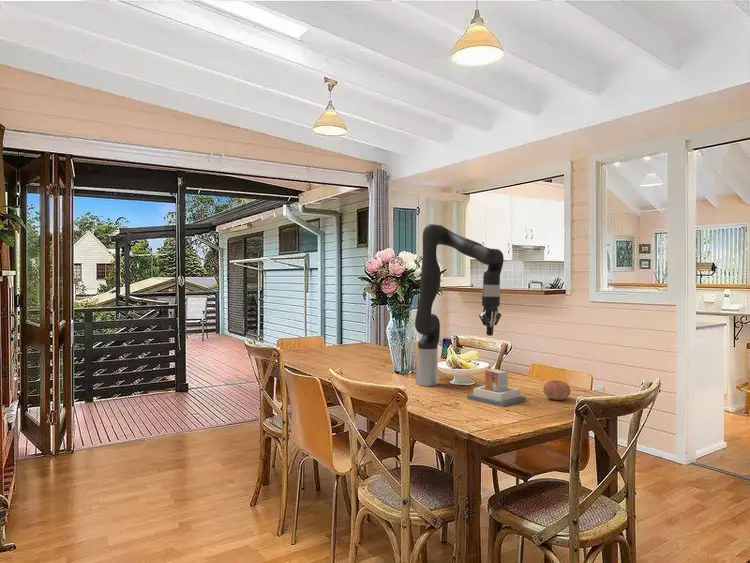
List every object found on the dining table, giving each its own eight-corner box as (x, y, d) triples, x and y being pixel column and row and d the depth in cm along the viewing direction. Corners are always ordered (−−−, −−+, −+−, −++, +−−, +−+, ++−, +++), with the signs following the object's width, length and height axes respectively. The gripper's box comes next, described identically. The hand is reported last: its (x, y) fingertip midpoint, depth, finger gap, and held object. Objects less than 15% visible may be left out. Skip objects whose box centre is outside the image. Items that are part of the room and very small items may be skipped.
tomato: (548, 402, 213) (548, 382, 213) (539, 396, 224) (540, 377, 224) (574, 402, 213) (574, 383, 213) (565, 396, 224) (565, 377, 224)
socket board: (467, 398, 219) (467, 387, 219) (490, 392, 230) (490, 382, 229) (503, 406, 205) (503, 395, 205) (526, 400, 216) (526, 389, 216)
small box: (484, 394, 220) (484, 369, 220) (495, 393, 222) (495, 368, 222) (497, 398, 213) (497, 372, 213) (508, 397, 215) (508, 371, 215)
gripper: (493, 294, 231) (492, 333, 232) (474, 295, 223) (473, 335, 223) (507, 295, 225) (506, 335, 226) (488, 296, 217) (487, 337, 217)
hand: (489, 335), depth 225 cm, fingers closed
